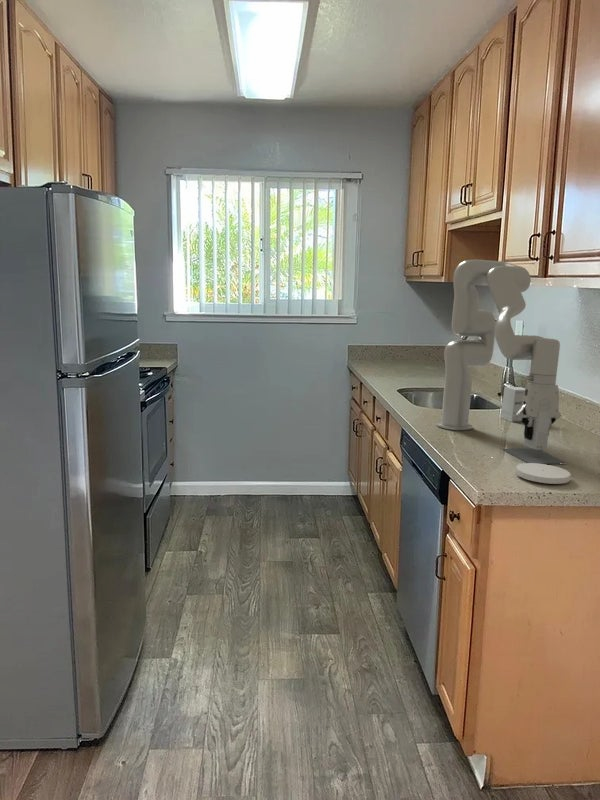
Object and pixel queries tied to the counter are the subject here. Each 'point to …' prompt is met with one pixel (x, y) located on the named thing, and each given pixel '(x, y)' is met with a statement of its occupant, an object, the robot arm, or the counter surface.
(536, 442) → the skincare box
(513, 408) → the supplement box
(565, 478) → the plastic lid
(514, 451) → the mat
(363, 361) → the counter surface
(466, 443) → the counter surface
